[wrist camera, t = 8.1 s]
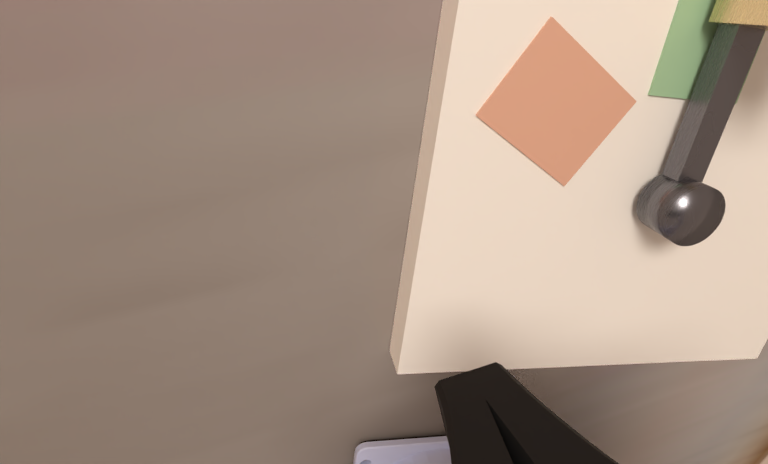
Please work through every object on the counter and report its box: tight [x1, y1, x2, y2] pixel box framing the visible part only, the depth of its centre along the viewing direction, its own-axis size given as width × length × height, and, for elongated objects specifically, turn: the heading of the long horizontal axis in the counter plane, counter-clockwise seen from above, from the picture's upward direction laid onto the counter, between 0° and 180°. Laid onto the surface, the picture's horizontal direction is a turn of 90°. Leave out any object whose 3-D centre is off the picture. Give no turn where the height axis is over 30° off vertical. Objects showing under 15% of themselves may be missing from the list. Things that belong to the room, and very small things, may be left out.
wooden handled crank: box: [636, 0, 768, 246], centre depth 15 cm, size 9×2×5 cm, turn 172°
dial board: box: [389, 0, 768, 374], centre depth 19 cm, size 16×18×2 cm
